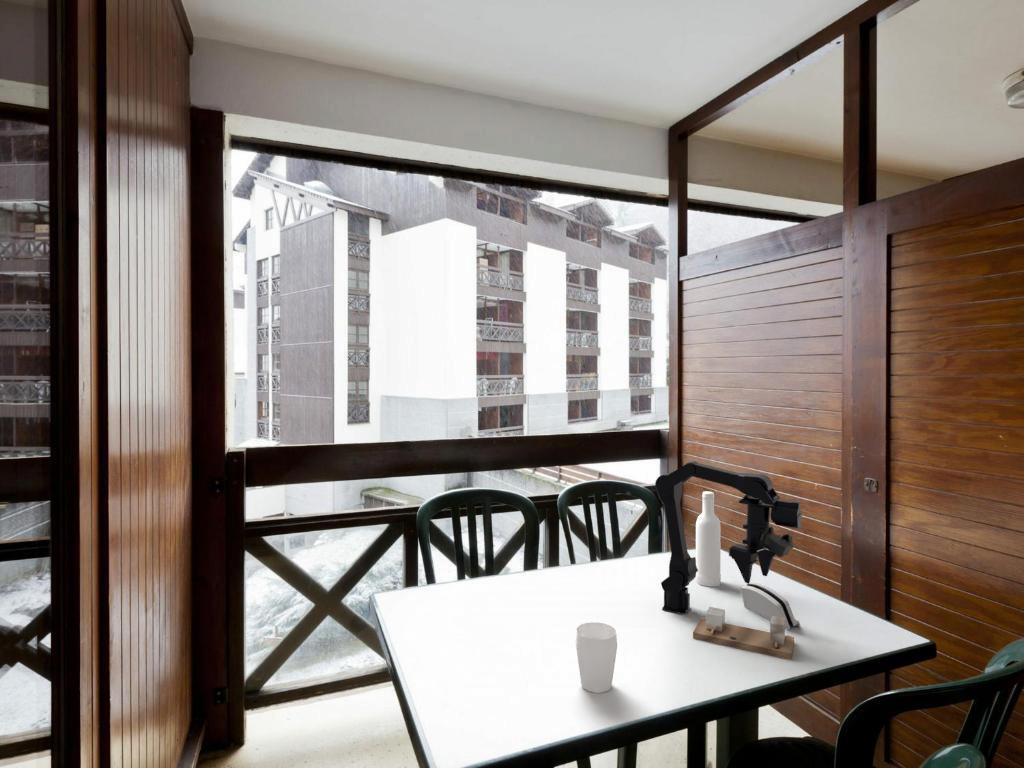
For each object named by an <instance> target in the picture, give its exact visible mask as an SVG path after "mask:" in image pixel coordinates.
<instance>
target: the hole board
mask: <svg viewBox="0 0 1024 768" xmlns="http://www.w3.org/2000/svg"><path fill="white" fill-rule="evenodd" d="M692 638H693V639H695V640H699V641H700V640H701V641H704V642H709V643H713V644H714V643H715V644H719V645H724V646H727V647H731V648H737V649H742V650H746V651H750V652H755V653H759V654H764V655H769V656H772V657H777V658H783V659H787V660H792V657H793V652H794V644H795V637H794V636H789V635H786V629H785V618H782V617H777V616H772V618H771V621H769V631H765V630H760V629H755V628H751V627H745V626H740V625H737V624H736V625H735V624H732V623H731V624H730V623H727V622H725V626H724V628H723V630H722V632H720V631H715V630H714V632H713V634H711V630H710V629H706V618H700V619H699V621H698V623H697V624H696V626H695V628H694V630H693V631H692Z"/></svg>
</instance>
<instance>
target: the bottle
mask: <svg viewBox="0 0 1024 768" xmlns="http://www.w3.org/2000/svg"><path fill="white" fill-rule="evenodd" d="M701 498H702V512H701V513H700V515H698V516H697V519H696V522H695V558H696V567H697V569H698V571H697V572H696V577H695V582H696V584H698V585H700V586H703V587H709V588H712V587H718V586H720V585H721V581H722V580H721V579H722V578H721V577H722V574H721V551H722V550H721V547H722V546H721V544H722V543H721V539H722V538H721V533H722V532H721V530H722V529H721V527H722V526H721V522H720V519H719V517H718V516H717V515H716V514H715V493H714V492H713V491H710V490H709V491H706V490H705V491H703V492H702V496H701Z"/></svg>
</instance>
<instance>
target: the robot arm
mask: <svg viewBox="0 0 1024 768" xmlns="http://www.w3.org/2000/svg"><path fill="white" fill-rule="evenodd" d="M691 478H698V479H701V480H704V481H709V482H712V483H717V484H719V485H723V486H727V487H730V488H733V489H735V490H737V491H738V492H740V493H741V494H744V496H743V497H742V498H741V499H740V500H739V501H738V503H739V504H743V505H746V523H743V524H742V528H743V529H745V538H743V539H742V543H736V544H734V545H731V546H730V547H729V548H728V557H731V559H732V560H733V561H734V562H735V564H736V566H737V568H738V570H739V572H740V575H741V577H742V578H743V581H744V583H745V584H748V583H751V578H752V577H751V576H752V571H753V565H754V564H756V563H757V562H758V561H759V562H758V563H759V567H760V571H761V574H762V575H761V576H763V577H768V575H769V573H770V569H771V566H772V563H773V561H774V558H775V557H779V558H783V557H785V556H788V555H789V553H790V550H792V549H794V543H793V536H792V535H791V534H789V533H785V534H783V535H782V536H781V534H776V533H774V530H775V529H774V527H773V525H772V526H771V525H770V522H771V521H772V523H774V525H776V526H779V527H780V526H781V527H786V528H793V529H798V530H799V529H801V526H802V519H803V513H802V508H801V502H800V501H796V500H795V501H794V500H793V501H792V500H791V501H790V500H784V499H781V497H780V496H779V494H778V492H776V490H775V488H774V487H773V482H772V479H771V478H770V476H768V475H766V474H763V473H754V472H753V473H752V472H751V473H750V472H736V471H731V470H728V469H724V468H720V467H715V466H713V465H708V464H703V463H700V462H698V461H695V460H692V461H689V462H686V463H685V464H684V465H682V466H681V467H679V468H677V469H675V470H673V471H672V472H671V471H670V472H669V473H668V472H667V473H665V474H661V475H659V476H658V477H657V478H656V480H655V484H654V485H655V489H656V492H657V496H658V498H659V500H660V501H661V503H662V504H663V508H664V515H665V519H666V527H667V534H668V540H669V546H670V554H671V555H670V558H669V559H670V560H669V564H668V565H669V566H668V576H667V577H666V578H665V579H664V580H663V581H661V582H660V585H661V587H662V590H663V606H662V609H661V610H662V611H668V612H672V613H677V614H682V615H686V613H687V611H688V610H689V609H690V607H691V606H690V605H691V604H690V603H691V602H690V601H691V593H689V588H688V587H687V586H689V585H690V583H691V582H692V581H694V580H695V579H696V572H697V571H698V569H697V567H696V556H694V557H691V555H690V554H689V551H688V547H687V540H686V534H685V527H684V521H683V514H682V508H681V500H682V494H683V484H684V483H685V482H687V481H689V480H690V479H691ZM770 520H771V521H770Z"/></svg>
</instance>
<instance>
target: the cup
mask: <svg viewBox="0 0 1024 768" xmlns="http://www.w3.org/2000/svg"><path fill="white" fill-rule="evenodd" d="M575 634H576V637H575V648H576V655H577V664H578V672H579V678H580V684H581V687H582V688H583V689H584V690H585V691H587V692H590V693H595V694H602V693H605V692H608V691H610V690H611V689H612V685H613V679H614V671H615V664H616V658H617V653H618V651H617V650H618V638H617V630H616V628H614V627H613V626H612V625H609V624H606V623H603V622H593V621H592V622H591V621H589V622H585V623H582V624H579V625H578V626H577V628H576V633H575Z"/></svg>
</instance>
